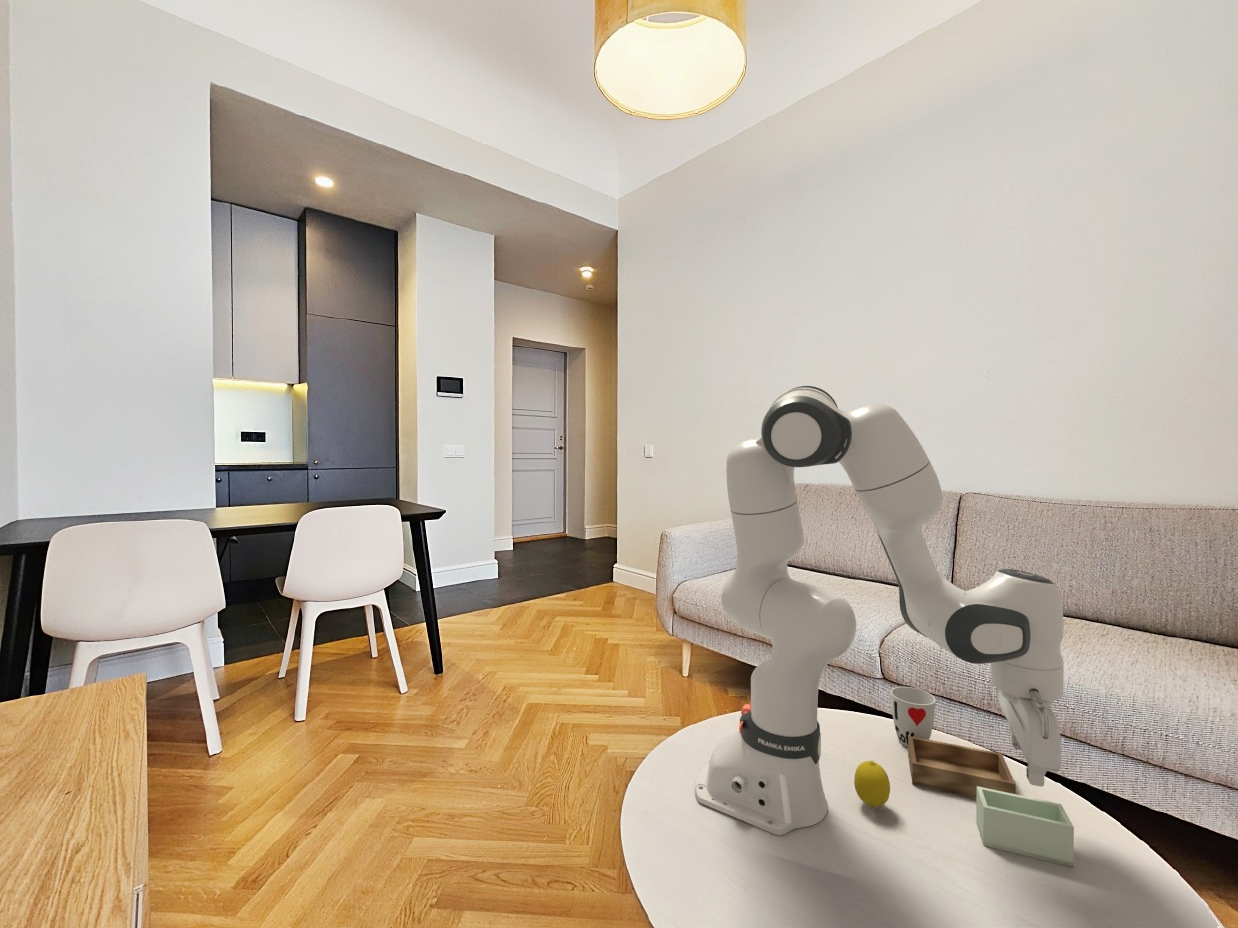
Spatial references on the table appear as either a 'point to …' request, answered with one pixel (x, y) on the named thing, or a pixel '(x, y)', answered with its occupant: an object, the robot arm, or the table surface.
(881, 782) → the lemon
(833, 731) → the table surface
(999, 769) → the walnut crate
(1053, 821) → the sage crate
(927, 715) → the cup
